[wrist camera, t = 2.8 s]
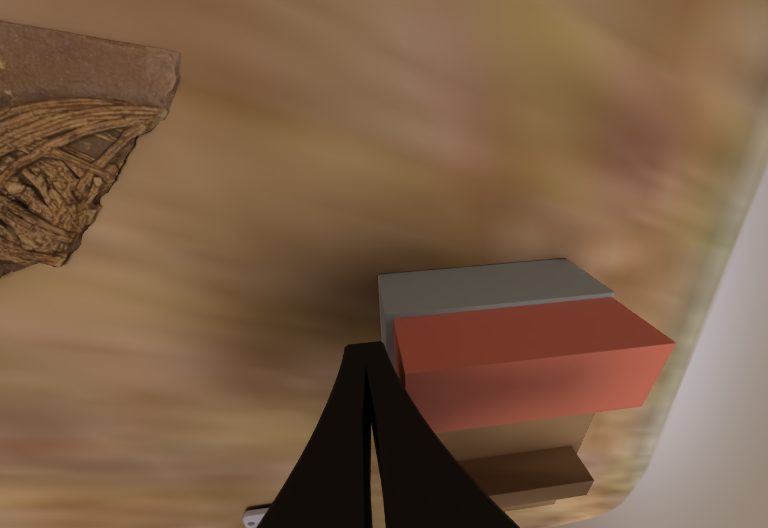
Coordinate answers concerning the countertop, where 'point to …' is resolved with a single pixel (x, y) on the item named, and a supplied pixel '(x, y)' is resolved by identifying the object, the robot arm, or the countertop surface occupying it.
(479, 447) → the lid
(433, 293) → the gray box
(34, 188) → the wooden fragment
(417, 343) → the red block
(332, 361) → the countertop surface
